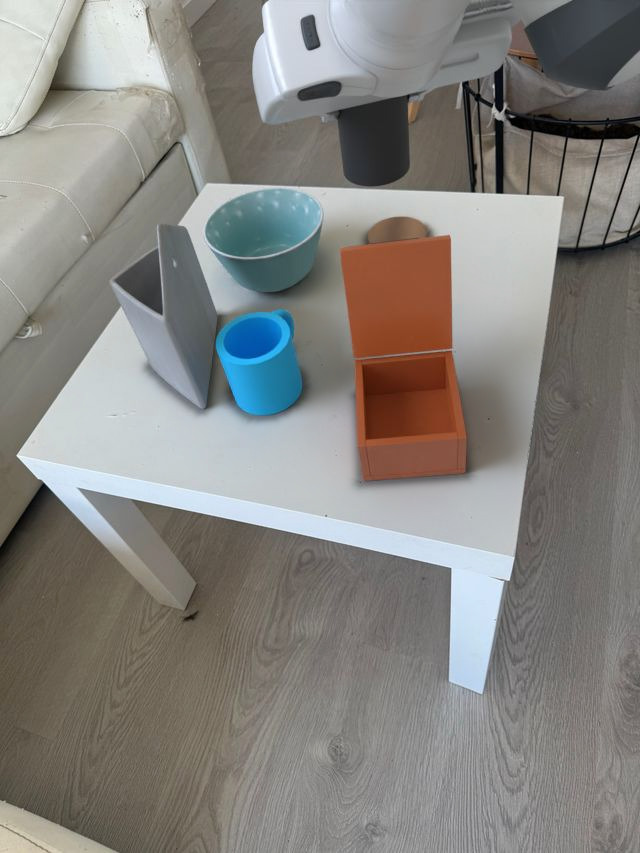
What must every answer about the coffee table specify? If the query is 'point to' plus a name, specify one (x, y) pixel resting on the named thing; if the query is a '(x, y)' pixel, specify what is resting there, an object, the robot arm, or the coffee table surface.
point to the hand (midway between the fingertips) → (369, 103)
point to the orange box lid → (399, 296)
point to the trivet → (396, 230)
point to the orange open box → (409, 416)
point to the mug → (261, 361)
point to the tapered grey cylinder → (375, 141)
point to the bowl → (266, 237)
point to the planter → (171, 312)
